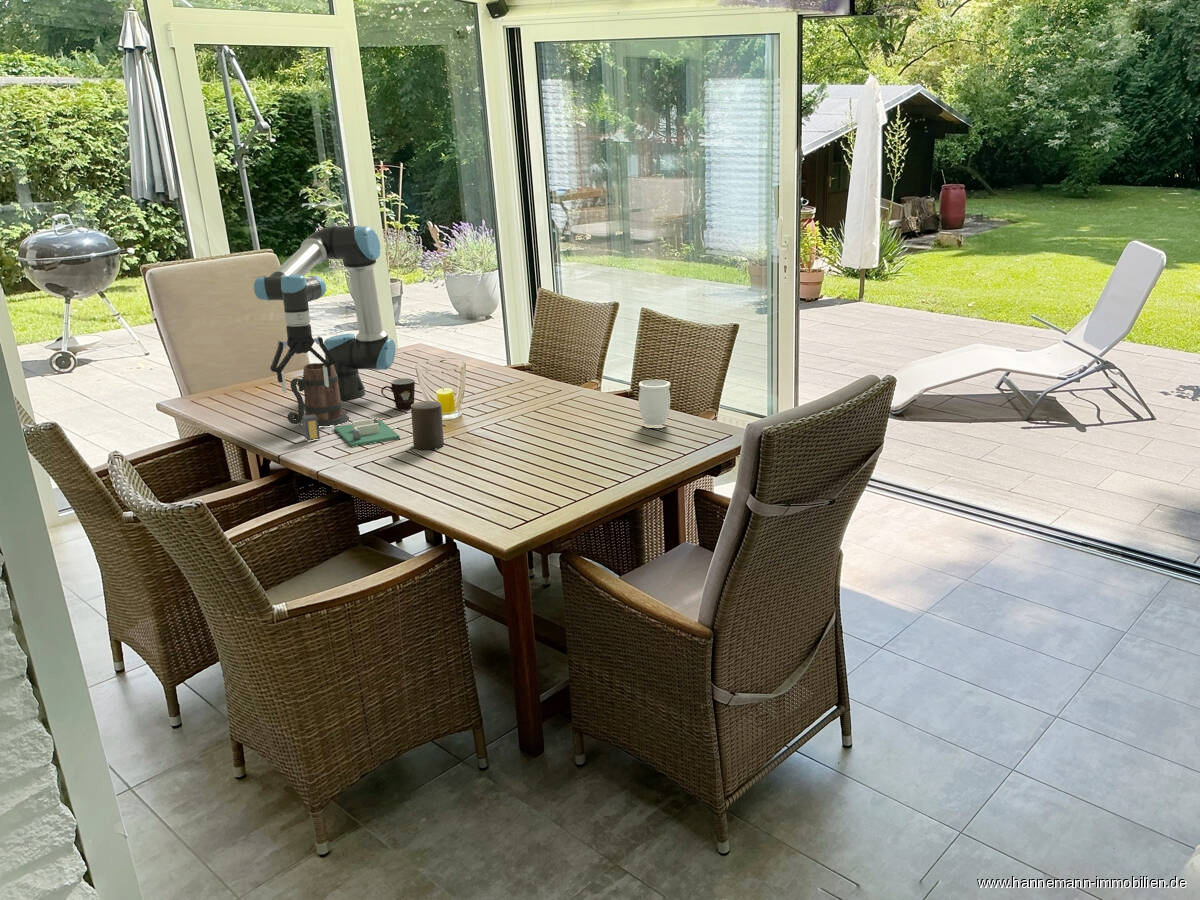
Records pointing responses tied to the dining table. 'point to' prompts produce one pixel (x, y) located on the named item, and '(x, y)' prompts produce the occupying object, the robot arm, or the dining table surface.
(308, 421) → the plug
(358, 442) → the board
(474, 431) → the dining table surface
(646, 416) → the jar
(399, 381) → the coffee mug
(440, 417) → the pillar candle
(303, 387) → the tankard
